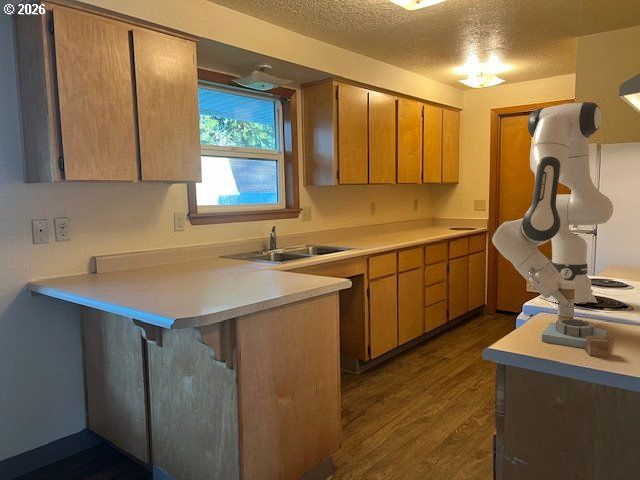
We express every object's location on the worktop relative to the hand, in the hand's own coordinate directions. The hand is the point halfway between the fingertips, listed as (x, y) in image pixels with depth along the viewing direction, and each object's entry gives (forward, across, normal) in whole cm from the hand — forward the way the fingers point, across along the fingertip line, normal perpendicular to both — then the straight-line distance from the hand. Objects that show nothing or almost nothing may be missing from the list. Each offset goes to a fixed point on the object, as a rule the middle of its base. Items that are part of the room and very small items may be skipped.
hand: (568, 301), depth 139 cm
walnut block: (+12, -23, -1) cm, 26 cm away
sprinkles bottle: (+5, 0, +6) cm, 8 cm away
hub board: (+8, -13, +3) cm, 15 cm away
